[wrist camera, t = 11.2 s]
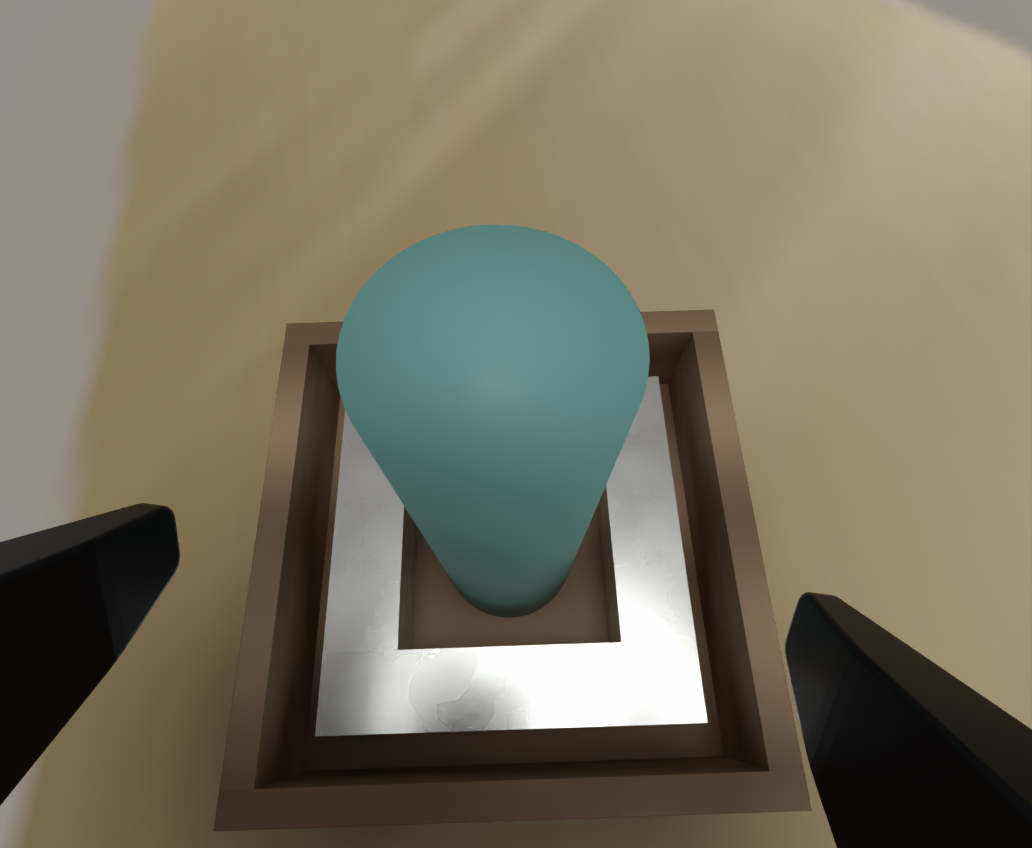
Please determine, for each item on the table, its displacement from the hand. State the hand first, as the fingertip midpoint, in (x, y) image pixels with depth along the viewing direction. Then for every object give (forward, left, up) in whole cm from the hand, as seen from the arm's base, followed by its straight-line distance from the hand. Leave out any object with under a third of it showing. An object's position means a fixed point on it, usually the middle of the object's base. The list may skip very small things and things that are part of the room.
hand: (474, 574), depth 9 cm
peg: (+3, 0, -11) cm, 11 cm away
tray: (+3, 0, -12) cm, 12 cm away
